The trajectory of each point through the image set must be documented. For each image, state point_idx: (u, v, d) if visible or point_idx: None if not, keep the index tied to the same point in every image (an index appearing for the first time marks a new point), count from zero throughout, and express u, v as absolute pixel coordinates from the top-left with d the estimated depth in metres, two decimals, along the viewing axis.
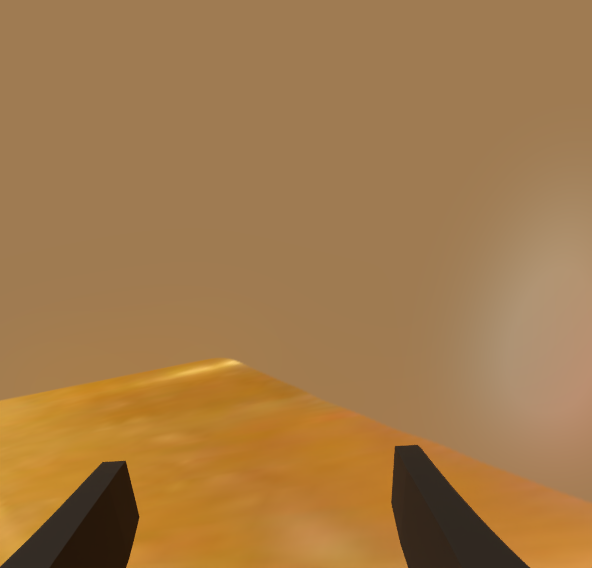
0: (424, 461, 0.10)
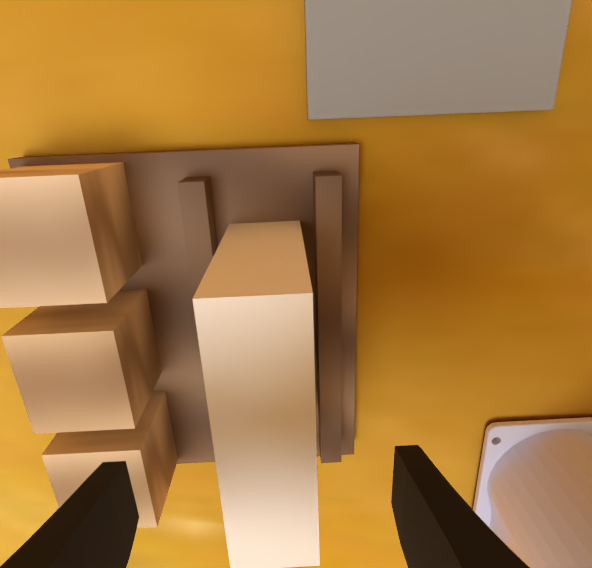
0: (424, 461, 0.10)
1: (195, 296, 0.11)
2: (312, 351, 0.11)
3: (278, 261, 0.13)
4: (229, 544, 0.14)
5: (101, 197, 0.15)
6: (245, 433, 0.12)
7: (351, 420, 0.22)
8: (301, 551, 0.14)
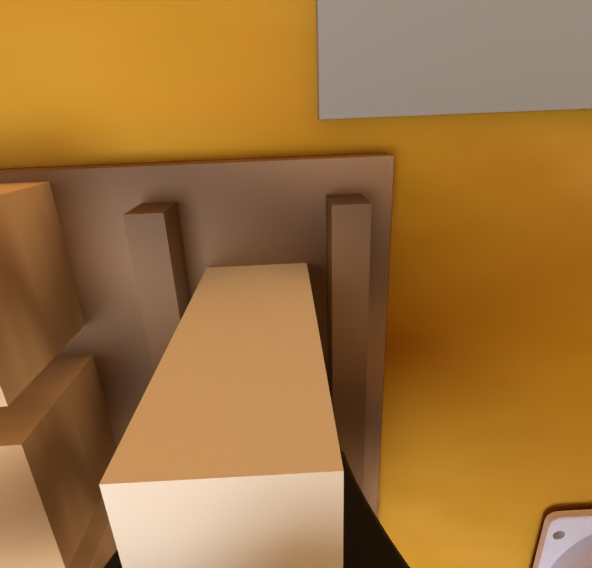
0: None
1: (107, 474, 0.05)
2: (339, 563, 0.06)
3: (276, 360, 0.08)
4: None
5: None
6: None
7: None
8: None
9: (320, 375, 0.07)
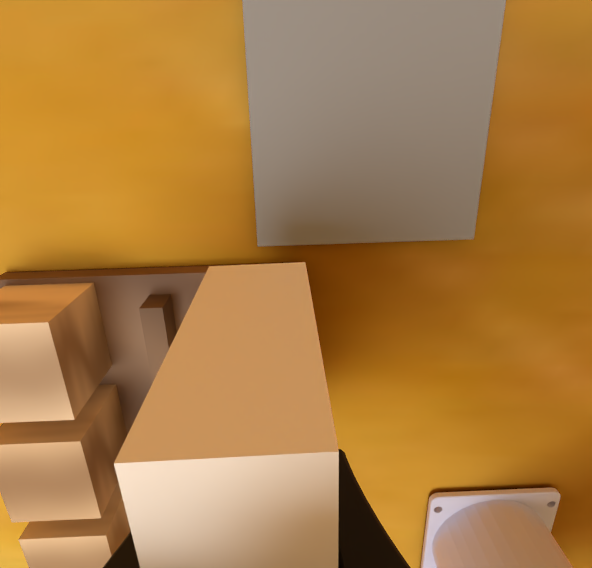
0: (341, 466, 0.10)
1: (121, 455, 0.06)
2: (335, 539, 0.06)
3: (276, 353, 0.08)
4: None
5: (71, 328, 0.17)
6: None
7: None
8: None
9: (318, 366, 0.08)
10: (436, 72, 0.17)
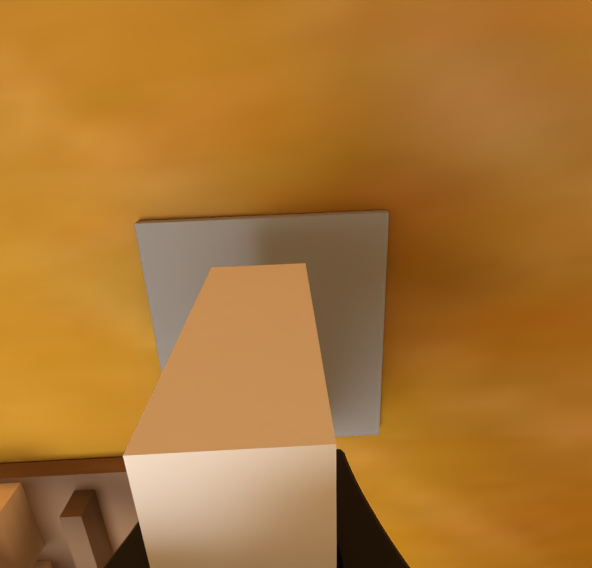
0: (341, 466, 0.10)
1: (129, 448, 0.06)
2: (333, 528, 0.07)
3: (276, 352, 0.08)
4: None
5: None
6: None
7: None
8: None
9: (316, 364, 0.08)
10: (328, 308, 0.18)
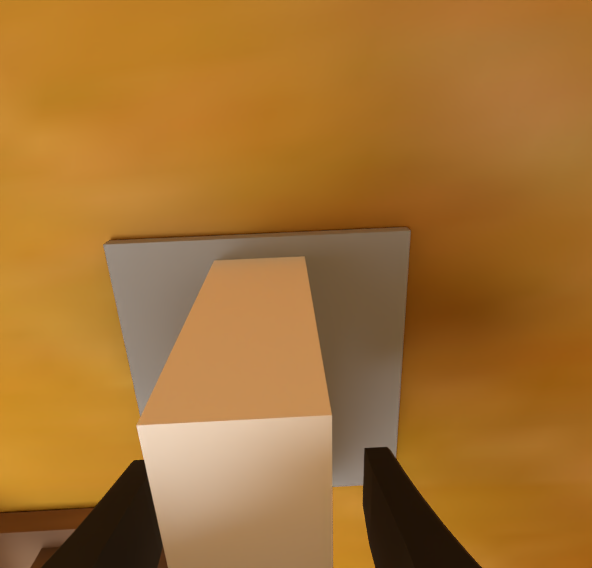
0: (391, 463, 0.10)
1: (142, 418, 0.07)
2: (329, 495, 0.07)
3: (277, 336, 0.09)
4: None
5: None
6: None
7: None
8: None
9: (314, 347, 0.08)
10: (337, 342, 0.15)
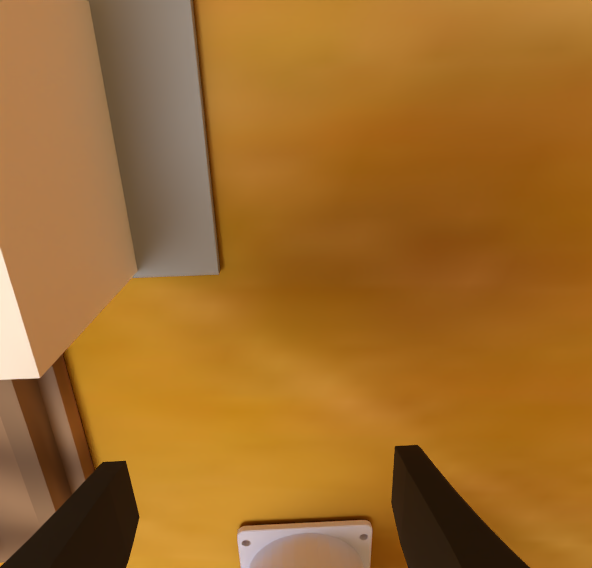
0: (424, 461, 0.10)
1: None
2: None
3: None
4: None
5: None
6: None
7: None
8: (8, 355, 0.11)
9: None
10: (136, 104, 0.16)
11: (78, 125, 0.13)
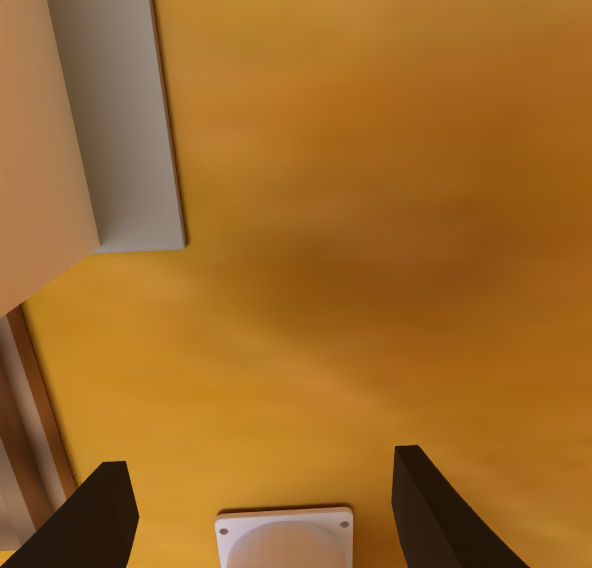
0: (424, 461, 0.10)
1: None
2: None
3: None
4: None
5: None
6: None
7: None
8: None
9: None
10: (91, 70, 0.15)
11: (24, 85, 0.13)
